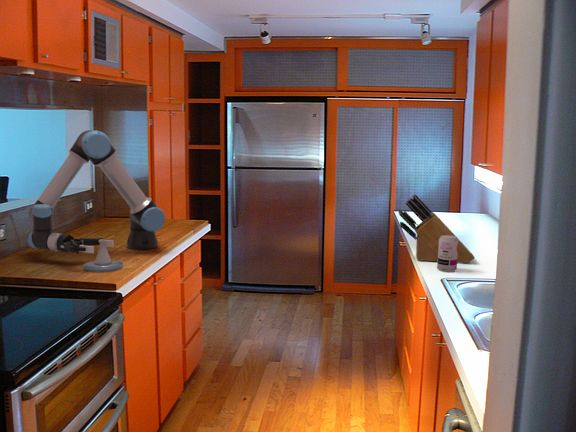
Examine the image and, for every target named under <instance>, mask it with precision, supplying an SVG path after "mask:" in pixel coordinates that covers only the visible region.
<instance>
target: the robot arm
mask: <svg viewBox="0 0 576 432" xmlns="http://www.w3.org/2000/svg"><path fill="white" fill-rule="evenodd" d="M68 153H69V155H68V156H67V158H65V160H64V162H63V163H62V164H61V166H60V167H59V168H58V170H57V171H56V173H55V174H54V176H53V177H52V178H51V180H50V181H49V183H48V184H47V185H46V187H45V188H44V190H43V191H42V193H41V194H40V195H39V197H38V198H37V200H36V201H35V203H34V204H32V205H31V206H30V207H29V208H28V213H27V214H28V218H30V220H31V221H32V227H33V231H31V232H30V233H29V234H28V237H27V244H28V246H29V247H30V248H33V249H38V250H45V251H54V252H55V253H57V252H65V253H72V254H73V253H75V254H76V255H77V254H79V253H86V254H94V253H95V246H99V240H104V238H102V237H100V238H99V237H96V238H93V237H92V238H89V237H87V238H86V237H85V238H84V237H80V238H75V237H73V235H72V234H68V233H57V232H53V228H52V224H53V223H52V213H53V212H52V210H53V209H54V207H55V206H56V204H57V203H58V202H59V200H60V199H61V197H62V196H63V194H64V193H65V191H66V190H67V189H68V187H69V186H70V184H71V183H72V181H73V180H74V179H75V178H76V176H77V175H78V173H79V172H80V170H81V169H82V167H83V166H84V165H85V164H87V163H89V162H91V164H92V165H93V166H94V167H99V169H101V171H102V172H103V173H104V175H105V176H106V177H107V178H108V180H109V181H110V182H111V184H112V185H113V186H114V188H115V189H116V191H117V192H118V193H119V194H120V195H121V197H122V199H123V200H124V201H125V202H126V203H127V205H128V206H129V207H128V208H129V234H128V237H127V240H126V248H127V249H129V250H130V249H131V250H150V249H151V250H152V249H156V248H158V246H159V241H158V238H157V235H156V232H157V231H159V230H161V228H163V226H164V225H165V222H166V215H165V212H164V210H163V209H162V208H160V207H159V206H157V204H156V203H155V202H154V200H153V199H152V197H147V196H146V195H145V193H144V192H143V191H142V189H141V188H140V187H139V185H138V184H137V183H136V182H135V180H134V179H133V178H132V176H131V175H130V173H129V172H128V171H127V169H126V168H125V166H124V165H123V164H122V162H121V161H120V159H118V157H117V154H116V153H117V150H116V149H115V148H114V146H113V144H112V142H111V140H110V138H109V136H108V135H107V134H105V132H104V131H103V132H102V131H100V130H91V129H90V130H89V129H87V130H85V131H83V132H81V133H80V134H79V135H78V136H77V137H76V140H75V141H74V142H73V145H72V146H71V148H70V149H69V150H68ZM105 240H106V248H107V247H109V248H114V246H115V243H114V242H115V241H114V240H112V239H111V240H109V239H105Z"/></svg>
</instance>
